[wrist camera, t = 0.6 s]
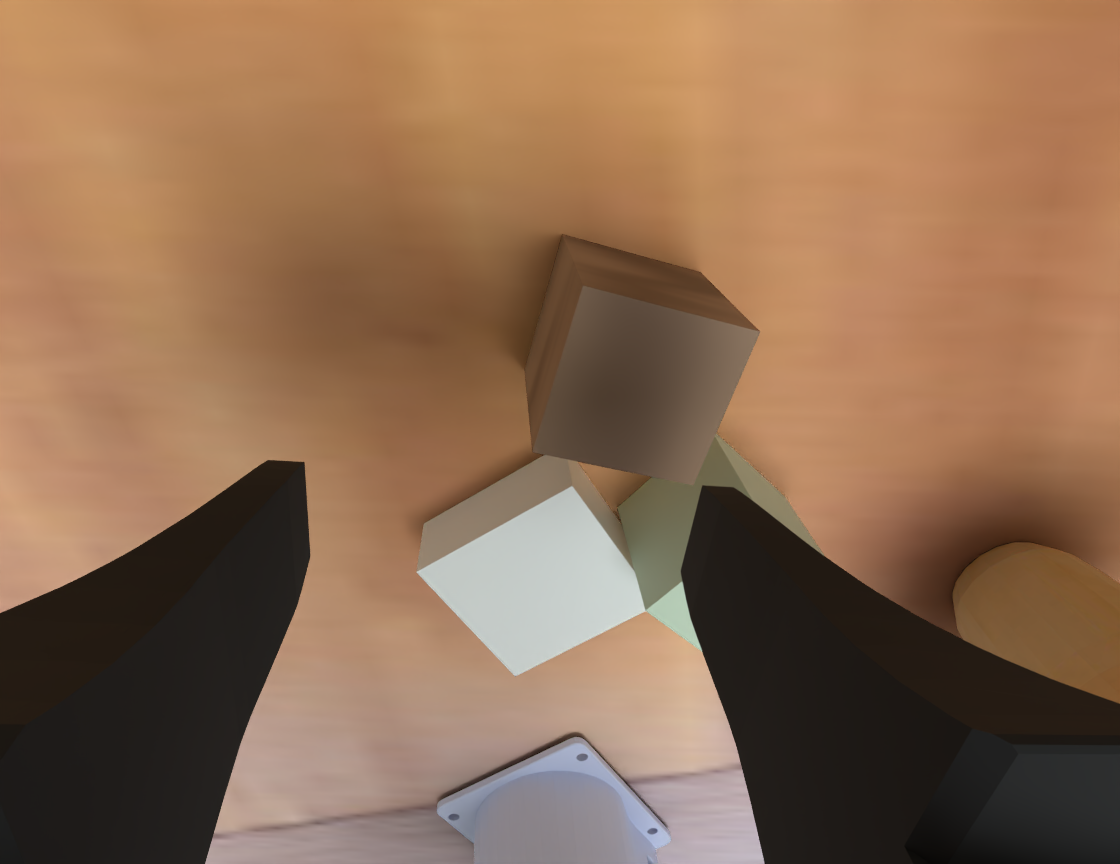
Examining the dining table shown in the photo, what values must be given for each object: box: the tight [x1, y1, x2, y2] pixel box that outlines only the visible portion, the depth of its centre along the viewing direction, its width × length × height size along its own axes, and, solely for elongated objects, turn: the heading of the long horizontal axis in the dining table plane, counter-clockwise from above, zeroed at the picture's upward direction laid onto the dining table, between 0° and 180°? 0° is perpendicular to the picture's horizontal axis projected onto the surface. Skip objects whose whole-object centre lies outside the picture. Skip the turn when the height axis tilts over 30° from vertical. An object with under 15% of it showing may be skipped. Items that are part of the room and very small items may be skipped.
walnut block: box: [524, 234, 760, 485], centre depth 19 cm, size 4×4×6 cm
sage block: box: [617, 433, 824, 651], centre depth 23 cm, size 4×4×6 cm
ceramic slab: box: [416, 455, 645, 676], centre depth 25 cm, size 6×6×3 cm
